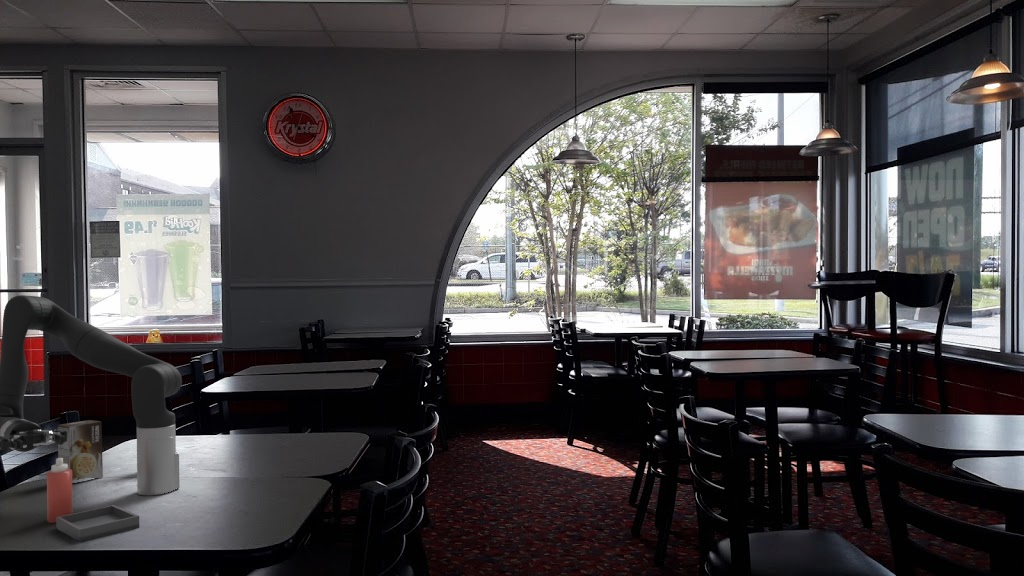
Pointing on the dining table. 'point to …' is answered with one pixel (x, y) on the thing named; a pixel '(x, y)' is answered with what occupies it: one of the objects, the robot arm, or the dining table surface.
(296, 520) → the dining table surface
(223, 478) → the dining table surface
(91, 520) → the tray
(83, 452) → the coffee box
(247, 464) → the dining table surface
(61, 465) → the bottle
